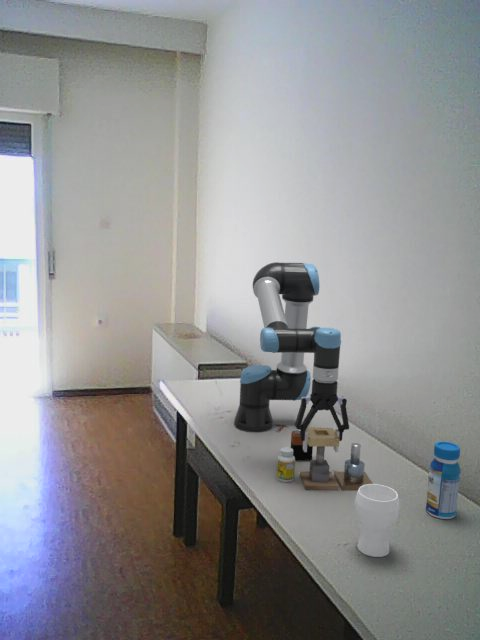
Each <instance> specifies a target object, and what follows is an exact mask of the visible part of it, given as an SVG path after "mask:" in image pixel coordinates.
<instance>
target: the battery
mask: <svg viewBox="0 0 480 640" xmlns="http://www.w3.org/2000/svg"><path fill="white" fill-rule="evenodd" d="M300 431H301V430H299V429H295V430H292V431H291V432H290V433H291V434H290V435H291V436H290V448H292V449H293V456H294V457H295V462H298V461H310V460H313V453H314V452H313V450H314V446H309V445H308V443H307V452H304V450H303V441H301V439H300Z"/></svg>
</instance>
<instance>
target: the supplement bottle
mask: <svg viewBox="0 0 480 640" xmlns="http://www.w3.org/2000/svg"><path fill="white" fill-rule="evenodd" d="M279 453H280V454H279V455H278V457H277V468H276V469H277V471H276V473H277V474H276V475H277V476H276V479H277V480H278V481H280V482H284V483H289V482H293V481H294V480H295V472H296V471H295V470H296V468H295V467H296V461H295V457H294V456H293V449H292V448H291V447H286V446H285V447H281V448H280V452H279Z"/></svg>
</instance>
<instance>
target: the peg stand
mask: <svg viewBox="0 0 480 640" xmlns="http://www.w3.org/2000/svg"><path fill="white" fill-rule="evenodd" d="M361 447H362V444H360V443H358V442H354V443H351V447H350V448H351V449H350V459H346V460H345V461H344V469H343V470H344V471H333V476H334V478H335V480H336V482H337V484H338V485H339V487H338V488H340V490H341V491H358V489H359V488H360V487H361V486H363V485H366V484H374V483H373V481H372V480H371V479H370V477H369V476H368V474H367V473H366V471H365V466H366V463H365V462H364V461H362V460H360V459H361Z"/></svg>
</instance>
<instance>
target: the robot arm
mask: <svg viewBox="0 0 480 640" xmlns="http://www.w3.org/2000/svg"><path fill="white" fill-rule="evenodd" d="M252 290H253V291H252V292H253V295H254V296H255V297H256V298H257V301H258V305H259V310H260V313H261V314H260V315H261V318H262V322H263V323H262V324H263V328H262V329H261V330H260V334H259V343H260V345H259V347H260V350H261V351H262V352H264V353H265V352H266V353H272V354H274V353H275V354H276V353H281V358H280V361H279V362H278V363H277V364H276V369H272V368H271V366H269V365H265V364H264V365H263V364H258V365H256V364H255V365H251V366H247V367H245V368H243V369H242V371H241V372H240V380H239V385H240V387H239V405H238V408H237V410H236V411H237V412H236V414H235V417H234V422H233V424H234V427H235V428H236V429H239V430H242V431H244V432H245V431H246V432H251V433H252V432H253V433H257V432H258V433H259V432H266V431H269V430H271V429H272V428H273V427H274V426H273V425H274V420H273V416H272V411H271V409H270V401H295V402H296V401H300V406H299V410H298V413H297V416H296V419H295V422H294V427H295V430H299V431H300V439H301V441H303V450H304V452H307V440H308V431H307V427H309V426H310V424H311V422H312V421H313V419H314V417H315V415H316V414H317V413H318V411H330V415H332V416H331V417H332V418H333V421H334V423H335V425H336V427H337V428H335V429H334V431H335V432H336V434H337V435H338V437H339V442H342V440H343V434H344V431H345V430H347V431H348V430H349V429H350V424H349V418H348V412H347V403H348V400H347V398H346V397H345V396H338V395H337V394H338V385H339V383H338V380H339V365H340V356H341V355H340V354H341V353H340V352H341V345H342V344H341V343H342V339H341V337H342V336H341V335H342V334H341V331H340V330H339V329H338V328H333V327H320V326H311V327H309V328H307V326H308V314H309V305H310V304H311V303H312V302H313V301H314V297H315V296H316V297H317V296H318V295H319V292H320V276H319V272H318V268H317V266H316V265H315V264H313V263H307V262H270V263H267V264H266V265H264V266H263V267H261V268H260V269H259V270H257V272H256V274H255V276H254V278H253V280H252ZM282 300H283V302H284V303H285V306H284V307H285V308H284V307H283V303H282ZM305 353H306V354H313V367H312V376H311V373H310V371H309V370H307V369H308V368H307V366H306V365H305V364H304V359H305ZM311 377H312V381H311ZM311 382H312V383H311ZM310 389H311V393H310V395H309V391H310ZM308 395H309V396H308ZM309 402H311V403H312V405H311V407H310V409H309V411H308V412H307V415H306V416H305V413H306V410H307V409H306V408H307V405H308V404H309ZM337 402H338V404H339V408H340V412H341V419H342V423H341V421H340V419H339V416H338V414H337V412H336V410H335V407H334V406H335V405H336V404H337ZM304 416H305V418H304ZM303 419H304V420H303ZM333 449H334V452H335V453H339V447H333Z"/></svg>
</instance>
